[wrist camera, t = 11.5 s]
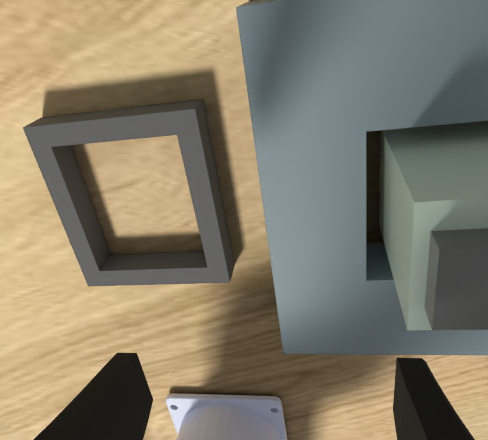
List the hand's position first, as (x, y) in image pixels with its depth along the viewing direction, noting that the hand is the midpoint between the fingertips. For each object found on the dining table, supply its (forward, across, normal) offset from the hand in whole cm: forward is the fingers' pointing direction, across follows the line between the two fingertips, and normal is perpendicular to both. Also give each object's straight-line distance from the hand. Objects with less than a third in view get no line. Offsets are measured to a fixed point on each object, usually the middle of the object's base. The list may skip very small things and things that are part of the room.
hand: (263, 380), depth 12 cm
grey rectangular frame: (+10, +7, -1) cm, 12 cm away
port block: (+10, -6, -1) cm, 12 cm away
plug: (+10, -6, -1) cm, 12 cm away
